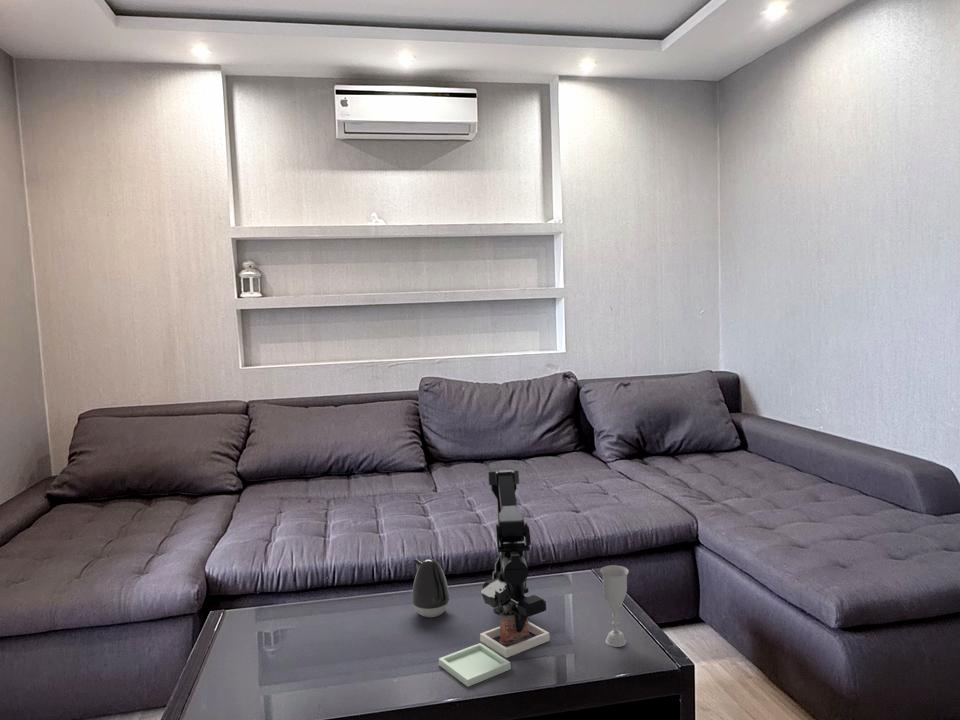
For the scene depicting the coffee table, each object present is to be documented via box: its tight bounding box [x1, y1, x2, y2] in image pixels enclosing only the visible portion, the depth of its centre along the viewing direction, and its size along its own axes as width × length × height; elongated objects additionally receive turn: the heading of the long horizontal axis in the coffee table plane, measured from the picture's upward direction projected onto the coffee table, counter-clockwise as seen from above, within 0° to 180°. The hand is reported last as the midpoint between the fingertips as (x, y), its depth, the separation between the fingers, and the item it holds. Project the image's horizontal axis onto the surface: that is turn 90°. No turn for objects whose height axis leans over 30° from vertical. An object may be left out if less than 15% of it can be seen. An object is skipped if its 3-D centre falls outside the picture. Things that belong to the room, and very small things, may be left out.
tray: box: [438, 642, 512, 687], centre depth 164 cm, size 12×12×2 cm
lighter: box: [498, 601, 530, 647], centre depth 175 cm, size 8×3×10 cm, turn 117°
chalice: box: [599, 564, 629, 648], centre depth 173 cm, size 7×7×18 cm
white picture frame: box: [479, 620, 550, 659], centre depth 176 cm, size 11×14×2 cm
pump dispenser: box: [411, 558, 450, 618], centre depth 193 cm, size 10×10×15 cm
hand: (514, 629), depth 176 cm, fingers closed on lighter, 3 cm apart
